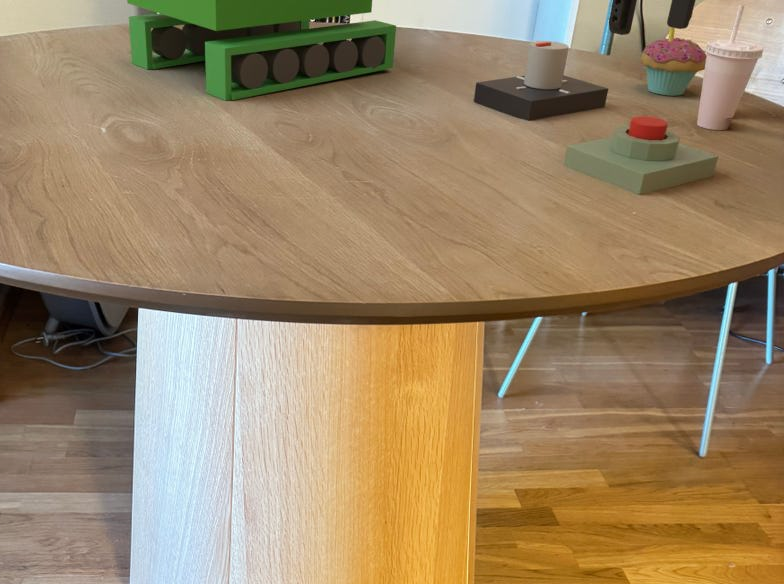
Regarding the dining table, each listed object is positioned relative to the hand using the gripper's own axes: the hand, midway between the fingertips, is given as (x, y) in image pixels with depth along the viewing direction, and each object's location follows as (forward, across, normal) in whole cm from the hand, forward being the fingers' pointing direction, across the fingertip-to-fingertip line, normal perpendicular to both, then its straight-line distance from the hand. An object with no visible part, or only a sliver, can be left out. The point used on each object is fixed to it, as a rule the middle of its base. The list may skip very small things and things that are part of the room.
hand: (648, 30), depth 91 cm
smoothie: (+14, +20, +4) cm, 25 cm away
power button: (+10, -2, -4) cm, 11 cm away
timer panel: (+13, +6, +20) cm, 25 cm away
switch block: (+13, -2, -4) cm, 14 cm away
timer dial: (+11, +6, +20) cm, 24 cm away
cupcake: (+14, +28, +19) cm, 37 cm away
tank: (+13, -16, +52) cm, 56 cm away
